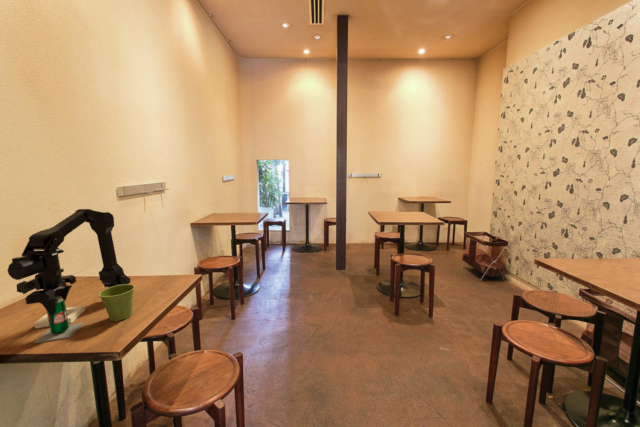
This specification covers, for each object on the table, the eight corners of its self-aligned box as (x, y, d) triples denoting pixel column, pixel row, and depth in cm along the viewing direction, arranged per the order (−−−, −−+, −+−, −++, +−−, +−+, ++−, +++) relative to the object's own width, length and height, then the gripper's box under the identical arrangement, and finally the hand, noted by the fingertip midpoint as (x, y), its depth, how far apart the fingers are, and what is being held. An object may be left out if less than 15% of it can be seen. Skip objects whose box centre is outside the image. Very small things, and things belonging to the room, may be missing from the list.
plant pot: (107, 313, 120) (103, 287, 118) (141, 308, 124) (138, 282, 122) (97, 327, 109) (93, 298, 107) (134, 321, 113) (131, 293, 111)
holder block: (84, 310, 124) (84, 305, 123) (71, 323, 113) (70, 318, 113) (52, 314, 120) (51, 309, 120) (35, 328, 110) (34, 323, 110)
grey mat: (83, 323, 112) (83, 322, 112) (69, 337, 103) (69, 336, 102) (51, 328, 109) (51, 327, 109) (34, 343, 100) (34, 342, 100)
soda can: (58, 335, 103) (51, 302, 101) (46, 333, 104) (40, 301, 102) (73, 327, 108) (67, 296, 106) (62, 326, 109) (56, 295, 107)
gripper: (37, 263, 109) (44, 303, 111) (0, 281, 91) (9, 329, 94) (73, 260, 112) (79, 299, 115) (44, 276, 94) (52, 322, 97)
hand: (56, 311), depth 105 cm, fingers closed on soda can, 5 cm apart
